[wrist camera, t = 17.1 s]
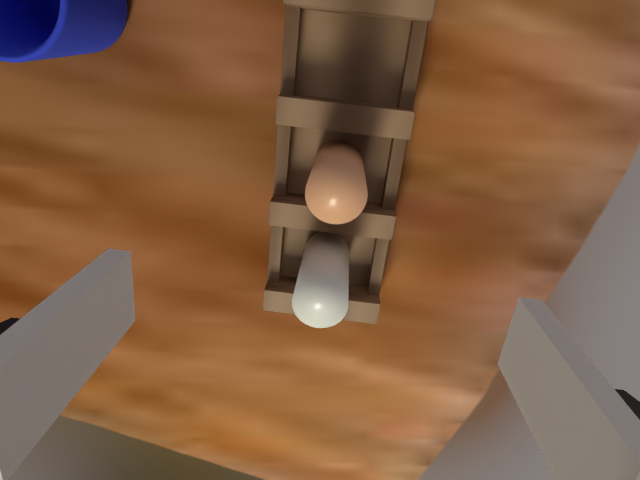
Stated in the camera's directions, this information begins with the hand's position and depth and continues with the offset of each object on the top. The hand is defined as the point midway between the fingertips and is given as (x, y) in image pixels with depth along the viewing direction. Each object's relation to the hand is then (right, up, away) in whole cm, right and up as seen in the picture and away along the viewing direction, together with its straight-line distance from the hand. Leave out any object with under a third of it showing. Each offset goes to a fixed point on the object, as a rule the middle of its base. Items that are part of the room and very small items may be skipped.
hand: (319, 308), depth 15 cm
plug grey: (+1, +1, +24) cm, 24 cm away
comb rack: (+2, +9, +22) cm, 24 cm away
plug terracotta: (+2, +9, +21) cm, 23 cm away
